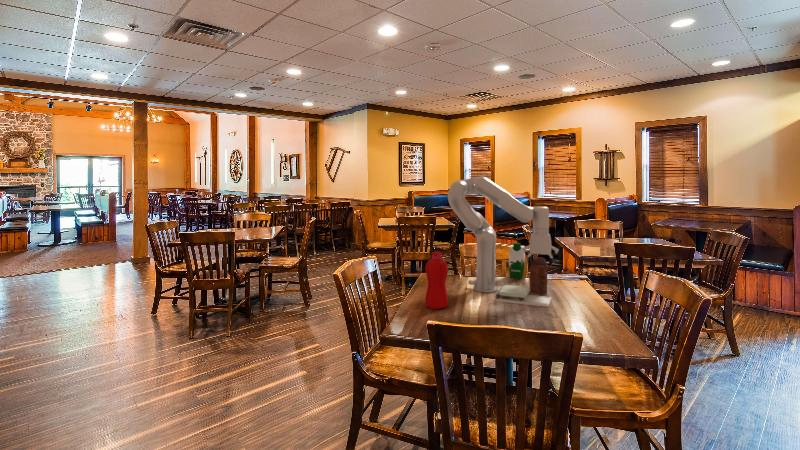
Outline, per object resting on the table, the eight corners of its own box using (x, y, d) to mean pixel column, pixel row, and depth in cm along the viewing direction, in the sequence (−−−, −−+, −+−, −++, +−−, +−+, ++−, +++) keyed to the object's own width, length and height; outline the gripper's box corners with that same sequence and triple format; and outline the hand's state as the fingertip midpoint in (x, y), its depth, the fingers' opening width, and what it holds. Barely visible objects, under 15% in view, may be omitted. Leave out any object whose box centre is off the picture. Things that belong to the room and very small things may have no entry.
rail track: (495, 300, 211) (495, 293, 210) (500, 294, 223) (500, 287, 222) (548, 306, 201) (548, 299, 201) (551, 299, 213) (551, 292, 213)
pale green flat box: (499, 298, 209) (499, 291, 209) (505, 291, 222) (505, 284, 222) (525, 301, 205) (525, 294, 204) (529, 293, 217) (530, 287, 217)
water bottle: (435, 311, 195) (435, 255, 192) (422, 305, 205) (422, 251, 202) (452, 308, 199) (453, 253, 196) (439, 302, 209) (439, 249, 206)
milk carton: (508, 278, 256) (508, 243, 254) (509, 274, 265) (510, 241, 262) (523, 279, 253) (524, 244, 251) (524, 275, 262) (525, 242, 259)
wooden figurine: (551, 294, 221) (552, 259, 219) (540, 296, 219) (541, 260, 217) (537, 289, 232) (538, 255, 230) (526, 290, 230) (527, 255, 228)
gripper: (521, 231, 222) (521, 265, 224) (558, 233, 215) (557, 267, 217) (524, 229, 229) (523, 262, 230) (559, 231, 221) (559, 264, 223)
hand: (540, 265), depth 224 cm, fingers open, 9 cm apart
